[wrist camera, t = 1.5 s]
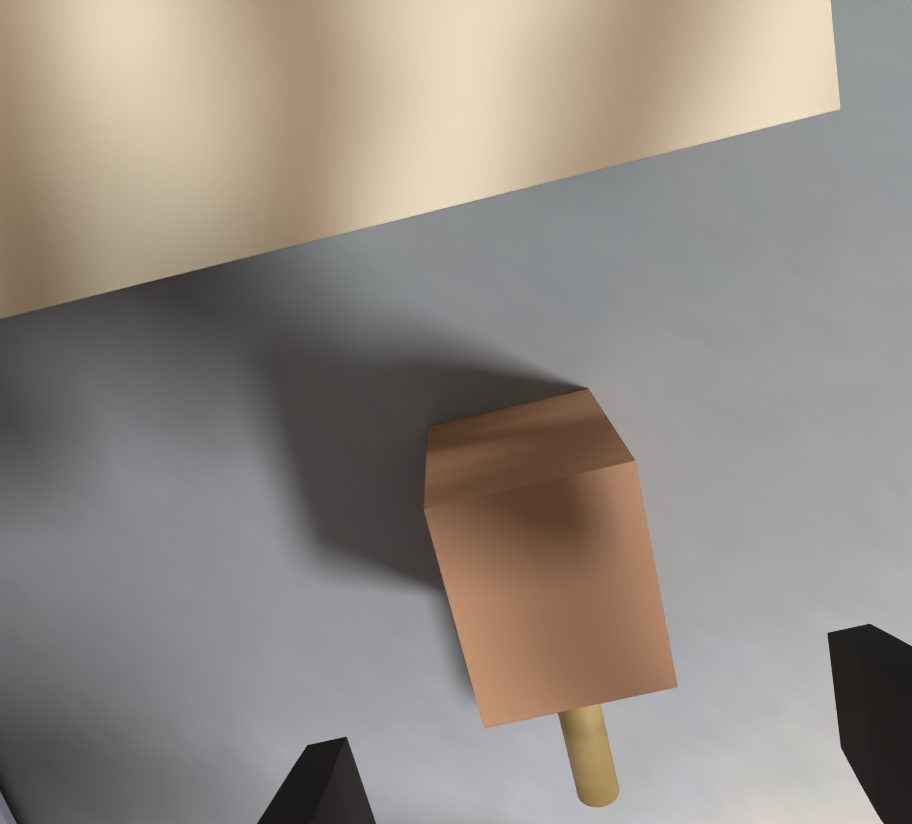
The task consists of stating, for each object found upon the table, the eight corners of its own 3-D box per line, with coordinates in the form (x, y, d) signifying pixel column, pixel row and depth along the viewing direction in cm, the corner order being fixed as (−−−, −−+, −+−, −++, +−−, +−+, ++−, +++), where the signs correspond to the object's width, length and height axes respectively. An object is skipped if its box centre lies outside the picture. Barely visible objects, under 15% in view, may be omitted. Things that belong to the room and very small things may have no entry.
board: (-125, 347, 19) (-214, 376, 16) (-324, -80, 16) (-468, -126, 14) (814, 112, 18) (878, 103, 15) (763, -387, 15) (830, -500, 13)
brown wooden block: (507, 725, 22) (525, 877, 18) (427, 425, 20) (423, 509, 15) (649, 695, 22) (706, 840, 17) (588, 388, 20) (635, 460, 15)
